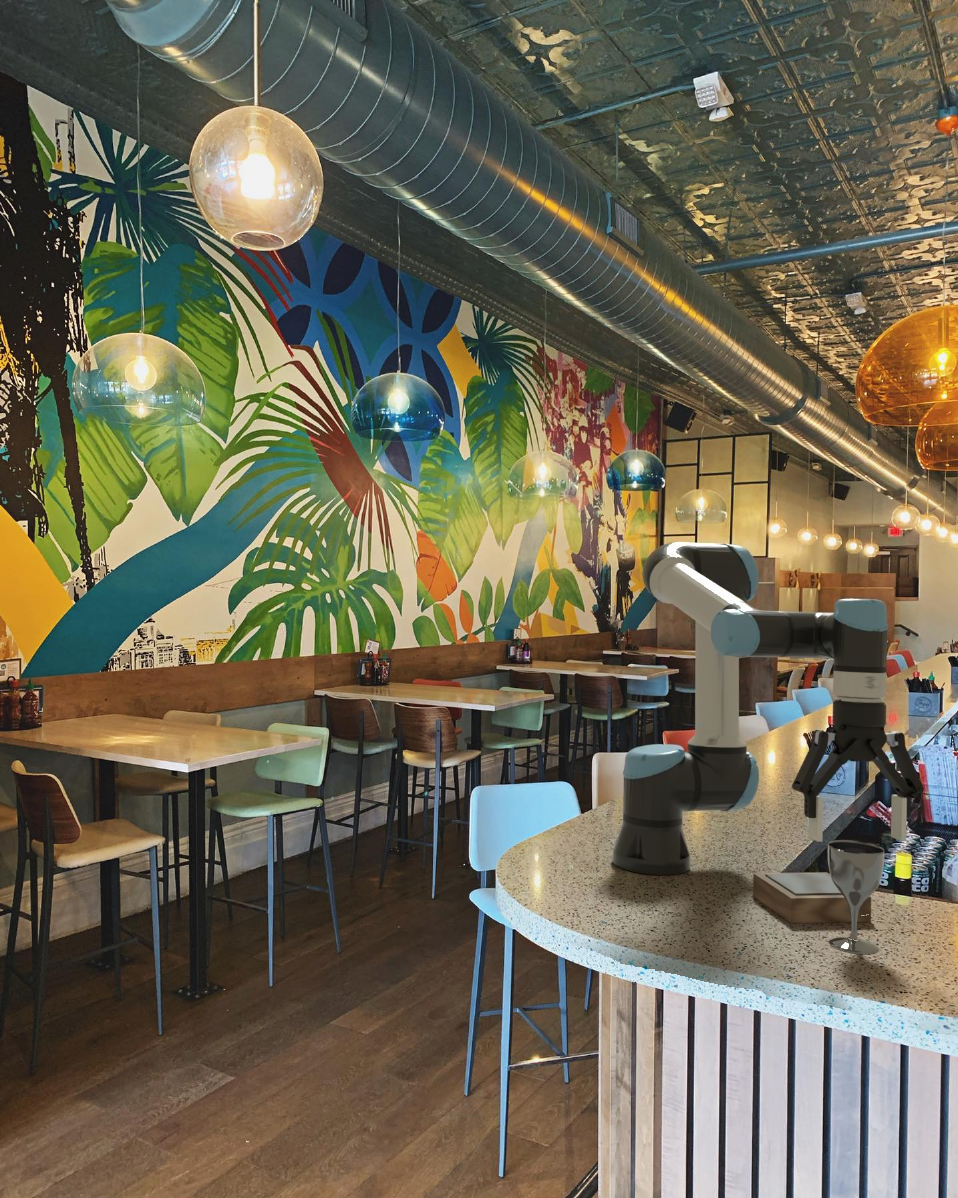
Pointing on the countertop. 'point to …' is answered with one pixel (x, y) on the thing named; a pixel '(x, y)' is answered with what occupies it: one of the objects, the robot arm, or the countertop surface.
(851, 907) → the wine glass
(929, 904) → the countertop surface
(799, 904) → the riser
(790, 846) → the countertop surface
